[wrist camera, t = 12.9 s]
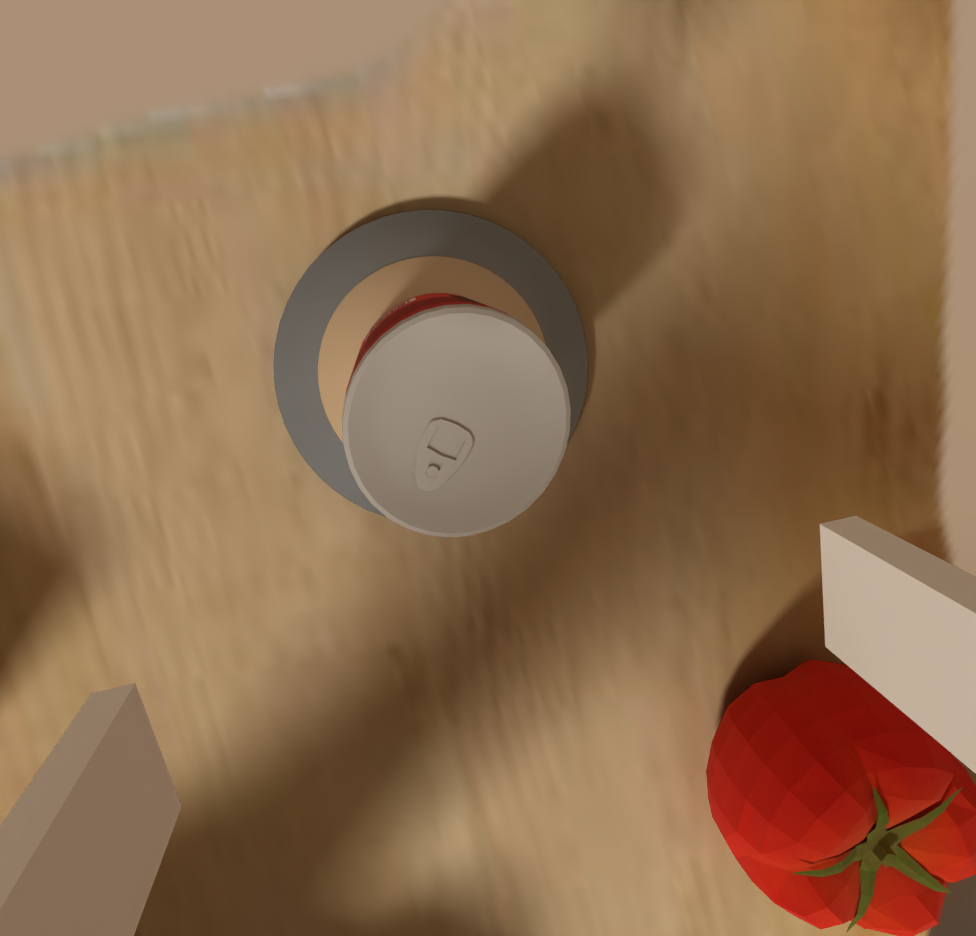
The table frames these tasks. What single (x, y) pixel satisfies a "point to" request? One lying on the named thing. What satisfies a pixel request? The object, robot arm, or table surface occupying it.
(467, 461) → the canned food
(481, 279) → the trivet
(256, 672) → the table surface
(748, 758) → the tomato
